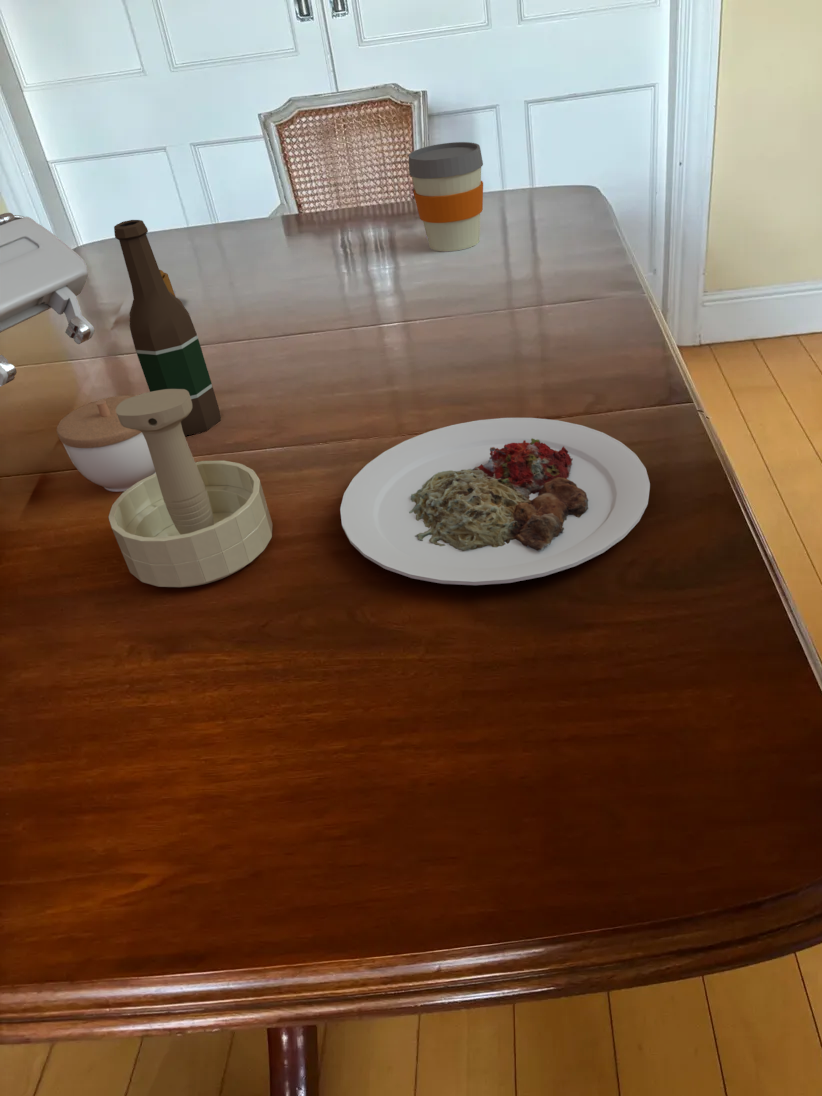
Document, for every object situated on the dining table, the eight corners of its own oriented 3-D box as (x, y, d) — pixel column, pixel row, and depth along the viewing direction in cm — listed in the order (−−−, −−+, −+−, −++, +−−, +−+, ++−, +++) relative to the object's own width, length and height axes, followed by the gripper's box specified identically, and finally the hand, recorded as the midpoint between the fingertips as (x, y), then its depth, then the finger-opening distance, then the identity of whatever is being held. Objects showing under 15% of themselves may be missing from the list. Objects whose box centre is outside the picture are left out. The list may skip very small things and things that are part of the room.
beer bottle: (171, 411, 115) (106, 217, 101) (229, 406, 114) (172, 209, 100) (153, 440, 109) (81, 237, 95) (214, 435, 108) (151, 229, 94)
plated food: (309, 600, 79) (301, 570, 77) (376, 438, 103) (371, 411, 101) (656, 597, 74) (657, 564, 72) (644, 427, 97) (644, 398, 95)
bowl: (119, 605, 82) (96, 552, 79) (141, 524, 94) (122, 474, 90) (272, 579, 83) (256, 525, 79) (276, 501, 94) (262, 450, 90)
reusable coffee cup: (414, 240, 163) (401, 150, 154) (481, 228, 164) (473, 138, 155) (425, 259, 153) (412, 164, 144) (496, 246, 154) (488, 151, 145)
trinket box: (96, 514, 96) (63, 436, 91) (71, 477, 104) (39, 403, 98) (190, 478, 100) (164, 401, 95) (159, 445, 108) (133, 372, 102)
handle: (171, 535, 89) (120, 397, 80) (235, 523, 90) (191, 384, 81) (166, 562, 86) (112, 420, 77) (233, 550, 86) (186, 407, 77)
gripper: (13, 232, 88) (119, 335, 90) (-179, 307, 74) (-48, 427, 76) (26, 183, 83) (138, 293, 85) (-175, 253, 69) (-35, 383, 71)
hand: (50, 357), depth 80 cm, fingers open, 8 cm apart
